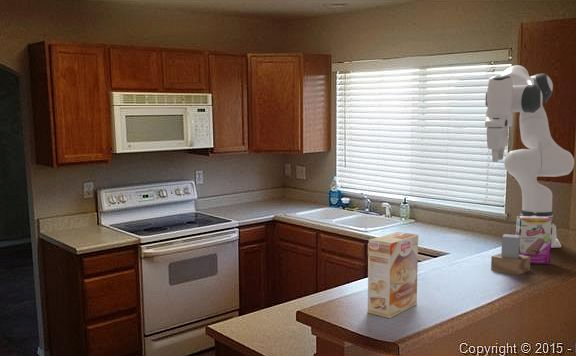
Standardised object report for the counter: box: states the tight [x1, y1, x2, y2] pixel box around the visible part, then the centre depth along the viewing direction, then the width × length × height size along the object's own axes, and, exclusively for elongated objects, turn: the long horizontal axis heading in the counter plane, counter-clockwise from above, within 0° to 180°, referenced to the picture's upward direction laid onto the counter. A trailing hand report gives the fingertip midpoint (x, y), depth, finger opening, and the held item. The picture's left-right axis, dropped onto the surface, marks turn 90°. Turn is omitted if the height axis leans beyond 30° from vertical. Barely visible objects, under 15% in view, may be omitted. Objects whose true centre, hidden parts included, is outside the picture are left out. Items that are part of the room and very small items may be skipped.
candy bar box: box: [515, 215, 554, 265], centre depth 199 cm, size 11×5×16 cm, turn 84°
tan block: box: [490, 252, 531, 276], centre depth 189 cm, size 9×9×5 cm
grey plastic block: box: [501, 233, 520, 259], centre depth 189 cm, size 5×5×7 cm
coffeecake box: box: [366, 231, 419, 319], centre depth 149 cm, size 15×7×20 cm, turn 139°
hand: (497, 160), depth 201 cm, fingers open, 8 cm apart
